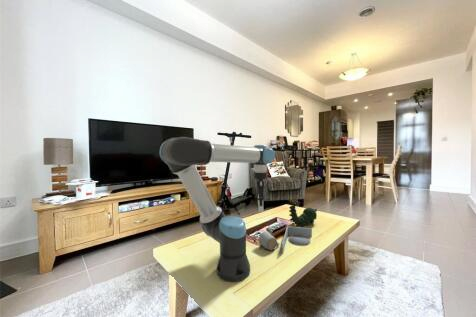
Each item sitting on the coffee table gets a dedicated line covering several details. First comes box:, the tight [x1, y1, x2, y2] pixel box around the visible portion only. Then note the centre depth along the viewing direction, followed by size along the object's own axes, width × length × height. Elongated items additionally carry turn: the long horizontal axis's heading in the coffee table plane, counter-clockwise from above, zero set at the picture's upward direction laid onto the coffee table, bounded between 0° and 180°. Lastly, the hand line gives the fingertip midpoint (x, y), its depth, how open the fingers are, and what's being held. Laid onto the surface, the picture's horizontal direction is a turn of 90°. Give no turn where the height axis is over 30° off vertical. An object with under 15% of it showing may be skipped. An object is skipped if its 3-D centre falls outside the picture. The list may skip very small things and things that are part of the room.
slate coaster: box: [288, 235, 311, 246], centre depth 120 cm, size 12×12×1 cm
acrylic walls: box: [281, 225, 313, 255], centre depth 115 cm, size 26×15×5 cm, turn 161°
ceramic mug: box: [258, 231, 280, 251], centre depth 113 cm, size 11×8×8 cm
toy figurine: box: [288, 201, 318, 228], centre depth 145 cm, size 9×19×25 cm
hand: (260, 208), depth 118 cm, fingers open, 13 cm apart
